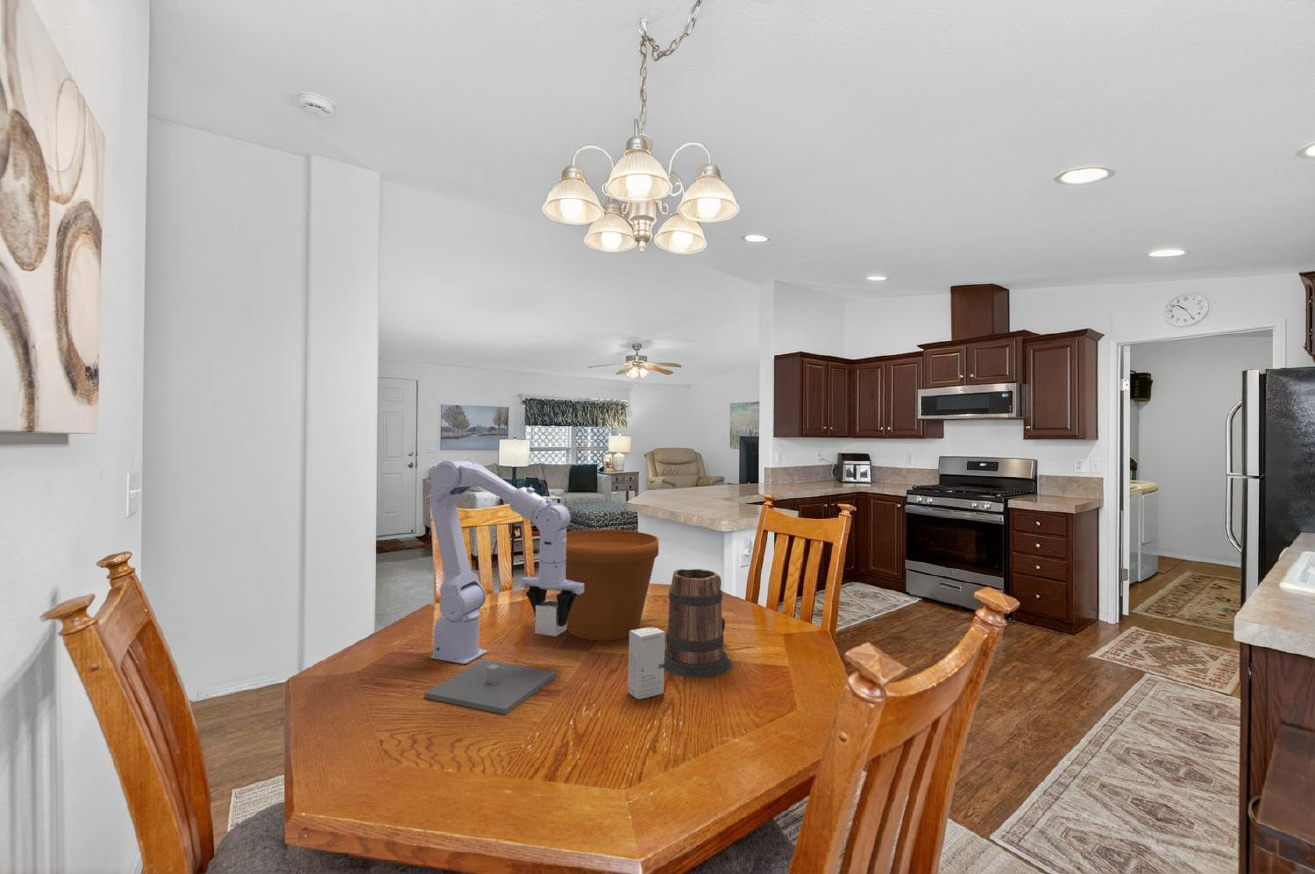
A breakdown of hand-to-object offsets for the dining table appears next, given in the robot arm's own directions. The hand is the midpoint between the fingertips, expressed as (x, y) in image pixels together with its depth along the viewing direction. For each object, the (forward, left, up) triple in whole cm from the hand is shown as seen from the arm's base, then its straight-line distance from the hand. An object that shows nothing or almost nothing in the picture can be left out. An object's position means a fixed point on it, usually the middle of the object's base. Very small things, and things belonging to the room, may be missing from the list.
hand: (551, 623), depth 127 cm
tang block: (-5, -13, -9) cm, 17 cm away
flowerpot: (0, +28, -10) cm, 29 cm away
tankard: (+29, +18, -10) cm, 35 cm away
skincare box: (+24, -4, -10) cm, 26 cm away
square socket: (0, 0, -2) cm, 2 cm away
